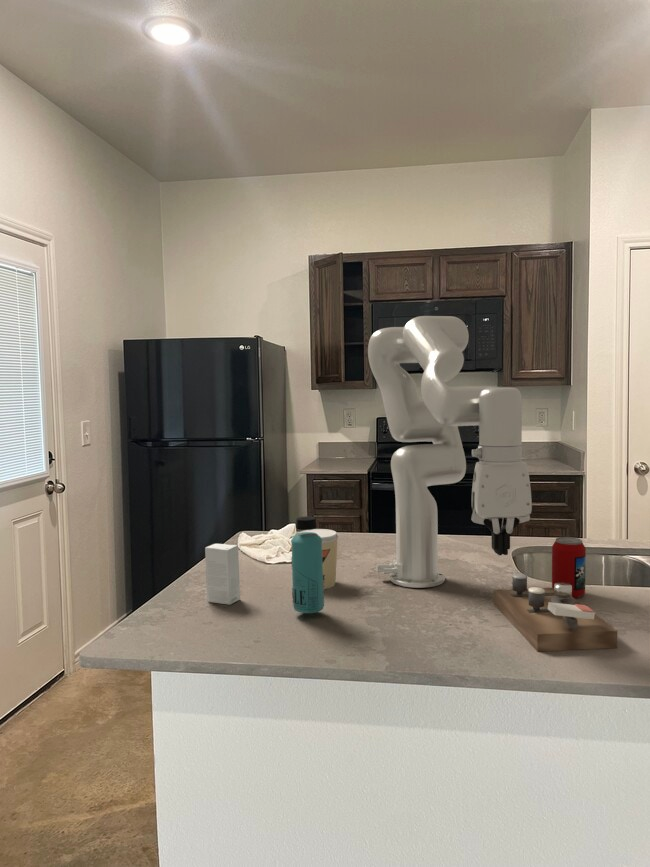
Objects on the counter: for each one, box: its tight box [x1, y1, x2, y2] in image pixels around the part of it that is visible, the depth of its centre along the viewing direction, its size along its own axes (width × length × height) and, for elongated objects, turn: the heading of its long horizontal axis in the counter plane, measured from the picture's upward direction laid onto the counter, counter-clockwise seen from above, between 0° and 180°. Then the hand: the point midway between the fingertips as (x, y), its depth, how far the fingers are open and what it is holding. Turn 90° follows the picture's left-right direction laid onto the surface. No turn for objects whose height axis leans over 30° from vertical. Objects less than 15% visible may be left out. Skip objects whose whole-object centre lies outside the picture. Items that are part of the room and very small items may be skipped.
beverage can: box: [551, 536, 587, 599], centre depth 142 cm, size 7×7×12 cm
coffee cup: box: [299, 528, 339, 590], centre depth 153 cm, size 9×9×12 cm
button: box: [554, 583, 572, 598], centre depth 129 cm, size 3×3×2 cm
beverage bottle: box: [290, 515, 326, 614], centre depth 133 cm, size 6×7×20 cm
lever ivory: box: [527, 586, 545, 610], centre depth 124 cm, size 3×3×4 cm
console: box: [493, 587, 618, 652], centre depth 126 cm, size 14×24×5 cm, turn 3°
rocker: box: [548, 602, 596, 619], centre depth 117 cm, size 7×3×1 cm, turn 93°
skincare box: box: [204, 543, 241, 606], centre depth 143 cm, size 6×4×12 cm
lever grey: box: [511, 572, 528, 595], centre depth 133 cm, size 3×3×4 cm
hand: (500, 553), depth 123 cm, fingers closed
